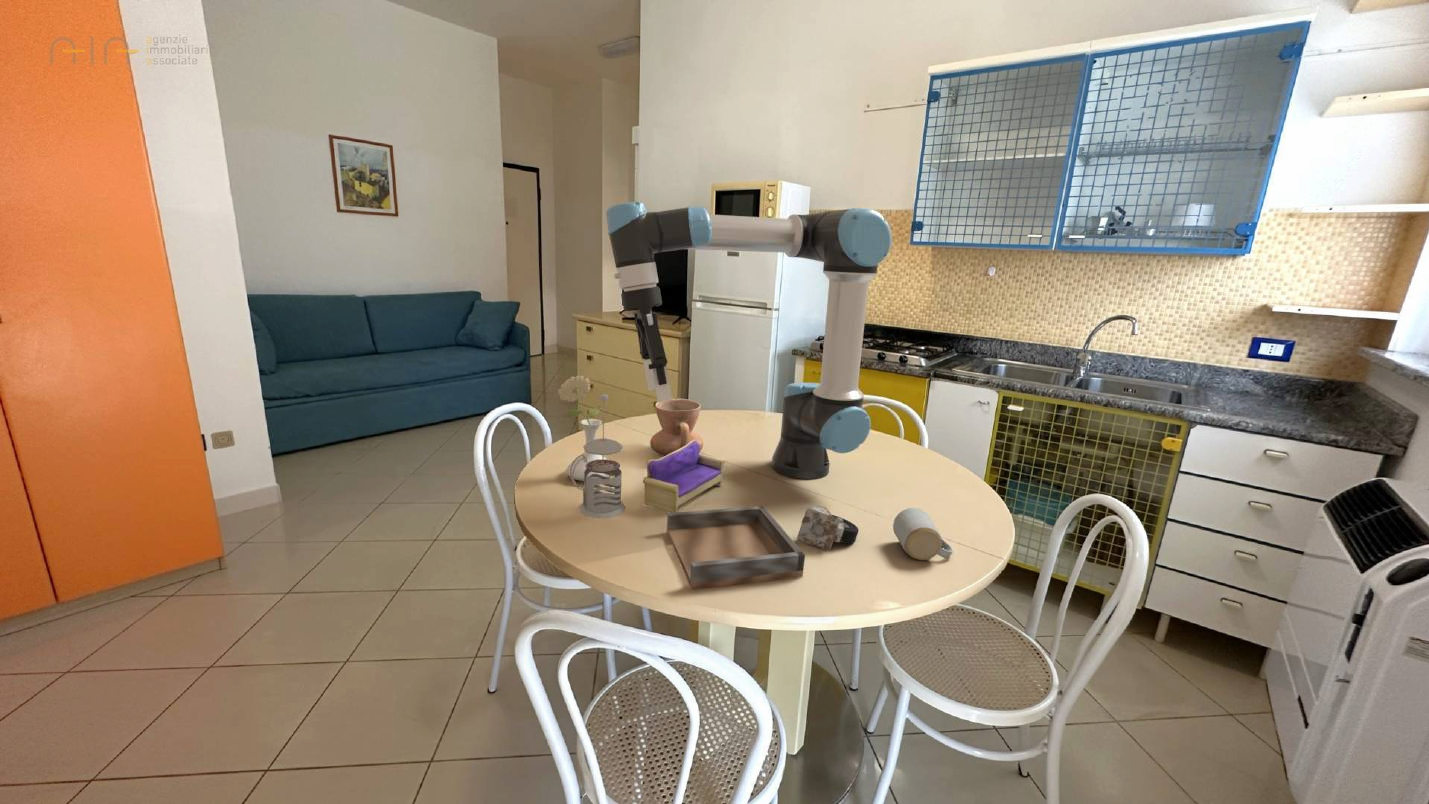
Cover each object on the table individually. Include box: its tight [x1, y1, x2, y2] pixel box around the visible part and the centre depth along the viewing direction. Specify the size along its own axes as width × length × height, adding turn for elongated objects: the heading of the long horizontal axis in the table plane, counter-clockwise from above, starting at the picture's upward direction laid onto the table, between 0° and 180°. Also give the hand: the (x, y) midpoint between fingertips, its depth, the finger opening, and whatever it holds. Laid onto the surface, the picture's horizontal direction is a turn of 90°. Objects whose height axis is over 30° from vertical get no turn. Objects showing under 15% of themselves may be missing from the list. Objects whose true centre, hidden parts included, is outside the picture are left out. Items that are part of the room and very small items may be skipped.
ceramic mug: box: [892, 507, 954, 561], centre depth 110 cm, size 11×8×8 cm
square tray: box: [666, 505, 806, 590], centre depth 106 cm, size 20×20×4 cm
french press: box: [569, 393, 627, 519], centre depth 118 cm, size 10×12×25 cm
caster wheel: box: [796, 505, 860, 551], centre depth 114 cm, size 7×11×10 cm
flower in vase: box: [557, 375, 611, 482], centre depth 134 cm, size 13×11×25 cm
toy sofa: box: [642, 440, 726, 514], centre depth 130 cm, size 21×9×10 cm, turn 149°
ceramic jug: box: [649, 398, 704, 457], centre depth 155 cm, size 18×14×14 cm
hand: (659, 394), depth 114 cm, fingers open, 13 cm apart
